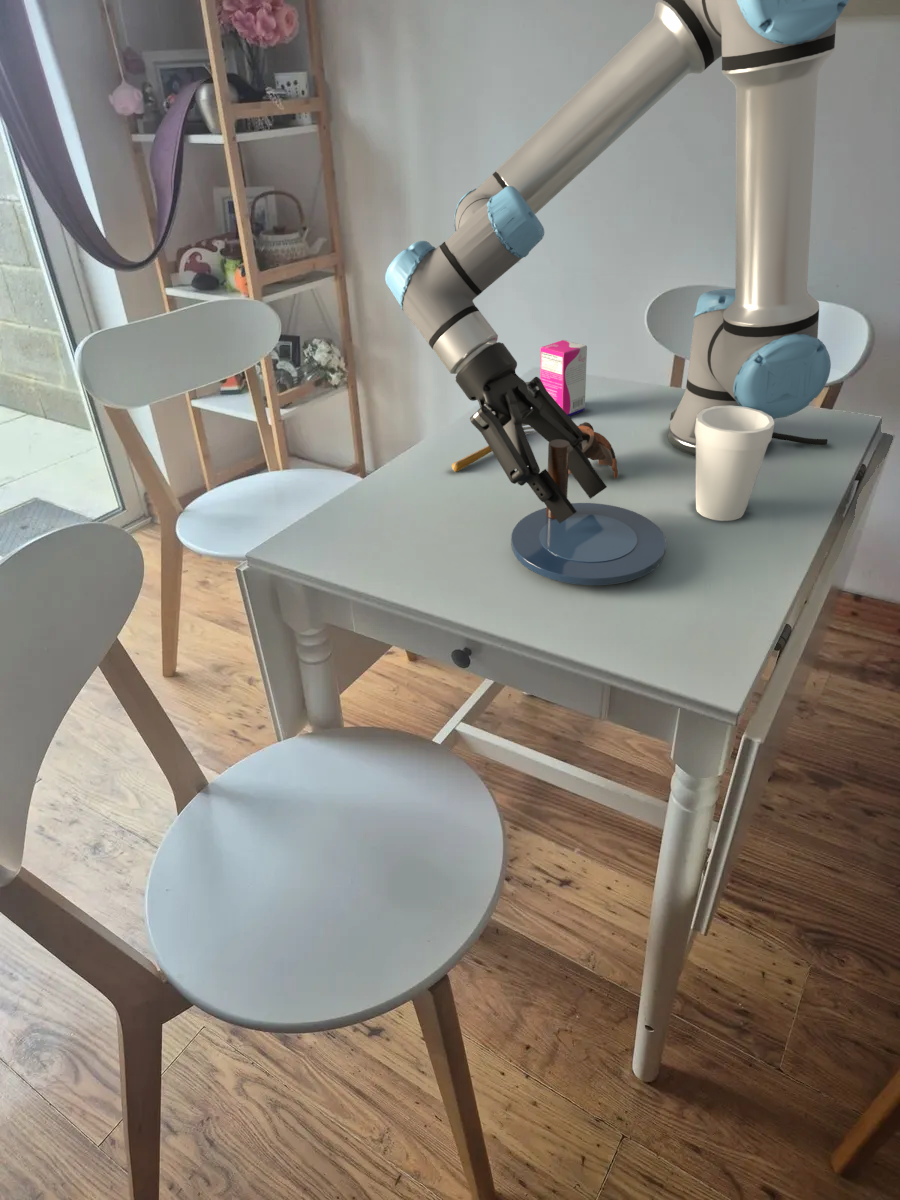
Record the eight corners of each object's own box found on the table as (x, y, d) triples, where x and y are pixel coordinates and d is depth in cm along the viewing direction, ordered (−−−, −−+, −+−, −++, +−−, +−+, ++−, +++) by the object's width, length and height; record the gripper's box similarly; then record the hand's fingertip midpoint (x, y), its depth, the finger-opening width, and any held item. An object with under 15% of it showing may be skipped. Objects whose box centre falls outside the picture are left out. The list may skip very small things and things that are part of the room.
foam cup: (670, 510, 111) (682, 419, 104) (708, 488, 116) (722, 400, 109) (732, 533, 105) (749, 439, 98) (769, 509, 110) (788, 418, 103)
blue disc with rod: (698, 557, 98) (711, 474, 92) (567, 602, 91) (572, 515, 85) (603, 497, 112) (609, 421, 106) (483, 532, 105) (482, 453, 99)
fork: (459, 465, 122) (537, 420, 134) (450, 459, 123) (528, 415, 135) (457, 478, 124) (534, 433, 136) (448, 473, 124) (525, 429, 137)
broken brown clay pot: (625, 490, 118) (603, 449, 112) (565, 512, 122) (541, 474, 116) (619, 438, 126) (598, 398, 120) (562, 460, 129) (540, 423, 124)
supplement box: (561, 402, 147) (563, 338, 140) (585, 411, 143) (589, 345, 136) (538, 410, 144) (539, 345, 137) (562, 419, 140) (565, 353, 133)
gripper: (502, 355, 112) (600, 488, 113) (411, 399, 99) (523, 551, 100) (536, 320, 107) (639, 461, 107) (445, 363, 93) (563, 524, 94)
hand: (583, 504), depth 103 cm, fingers open, 7 cm apart
